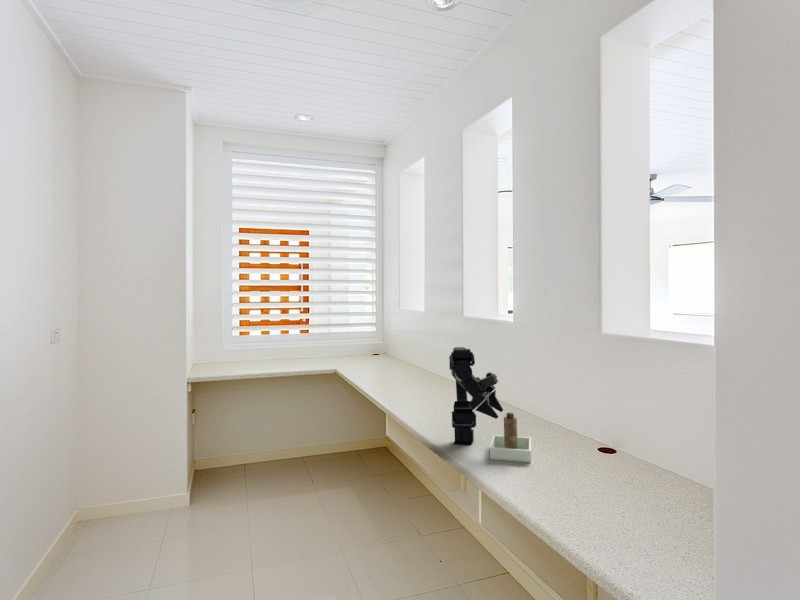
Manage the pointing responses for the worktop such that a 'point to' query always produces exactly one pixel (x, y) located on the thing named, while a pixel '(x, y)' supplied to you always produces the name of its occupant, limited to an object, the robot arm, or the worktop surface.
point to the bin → (511, 450)
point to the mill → (510, 431)
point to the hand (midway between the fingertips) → (499, 414)
